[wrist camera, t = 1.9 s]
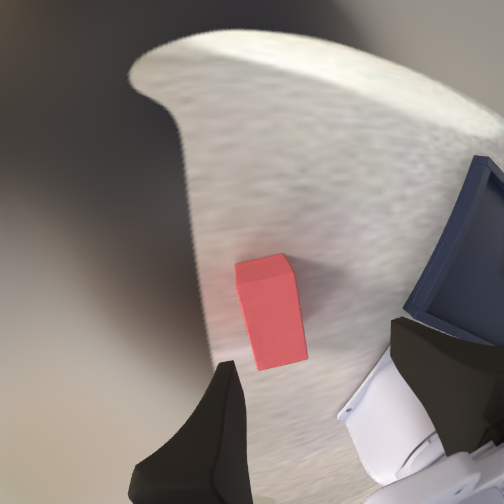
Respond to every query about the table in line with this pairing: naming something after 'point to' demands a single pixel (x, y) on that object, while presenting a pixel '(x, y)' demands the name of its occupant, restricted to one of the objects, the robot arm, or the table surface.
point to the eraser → (271, 311)
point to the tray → (468, 263)
